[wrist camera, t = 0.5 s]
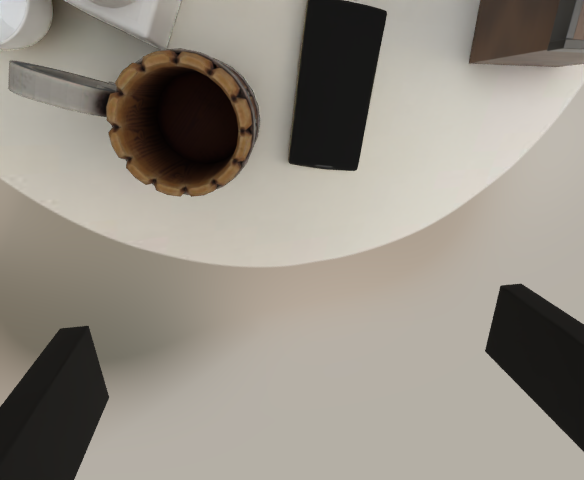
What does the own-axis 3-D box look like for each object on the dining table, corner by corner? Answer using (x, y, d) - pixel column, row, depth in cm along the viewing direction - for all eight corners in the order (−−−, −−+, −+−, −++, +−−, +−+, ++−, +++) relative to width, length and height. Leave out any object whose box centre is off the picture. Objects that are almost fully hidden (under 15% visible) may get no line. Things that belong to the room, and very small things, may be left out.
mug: (271, 80, 34) (292, 64, 20) (244, 184, 37) (245, 233, 23) (98, 19, 30) (-24, -51, 16) (84, 140, 33) (-26, 167, 20)
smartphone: (388, 7, 32) (357, 172, 37) (384, 11, 33) (354, 171, 38) (309, -8, 30) (288, 165, 36) (307, -4, 31) (287, 163, 37)
